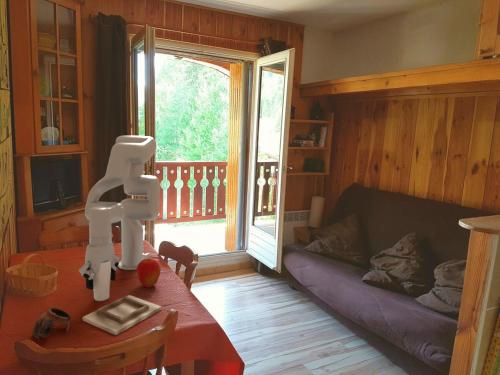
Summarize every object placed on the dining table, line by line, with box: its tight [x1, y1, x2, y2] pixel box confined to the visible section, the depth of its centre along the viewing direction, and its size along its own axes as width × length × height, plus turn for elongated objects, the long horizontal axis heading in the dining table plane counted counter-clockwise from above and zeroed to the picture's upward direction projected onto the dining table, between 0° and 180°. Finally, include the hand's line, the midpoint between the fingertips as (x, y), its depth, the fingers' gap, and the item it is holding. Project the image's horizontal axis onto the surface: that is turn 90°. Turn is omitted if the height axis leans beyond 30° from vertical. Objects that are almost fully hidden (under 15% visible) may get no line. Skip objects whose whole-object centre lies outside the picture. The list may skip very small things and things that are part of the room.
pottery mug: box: [32, 307, 72, 340], centre depth 113 cm, size 12×10×8 cm
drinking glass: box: [92, 260, 111, 302], centre depth 136 cm, size 7×7×15 cm
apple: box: [136, 257, 162, 288], centre depth 149 cm, size 9×9×12 cm
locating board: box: [82, 294, 162, 336], centre depth 126 cm, size 20×16×3 cm
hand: (101, 284), depth 136 cm, fingers open, 9 cm apart
